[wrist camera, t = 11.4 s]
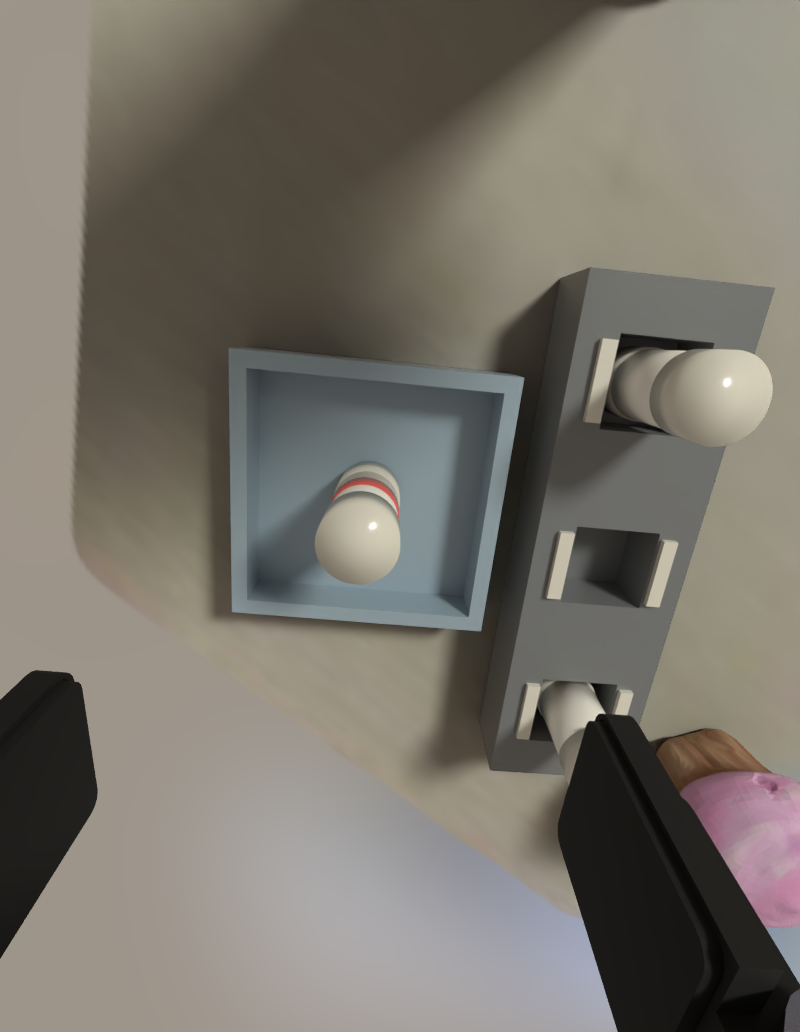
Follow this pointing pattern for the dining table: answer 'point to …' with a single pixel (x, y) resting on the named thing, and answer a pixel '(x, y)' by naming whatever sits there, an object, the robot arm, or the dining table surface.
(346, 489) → the cylinder
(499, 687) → the fuse holder
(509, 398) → the tray
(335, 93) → the dining table surface
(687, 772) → the cupcake
